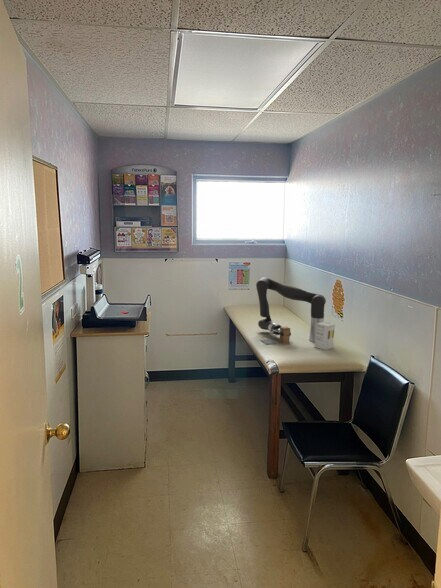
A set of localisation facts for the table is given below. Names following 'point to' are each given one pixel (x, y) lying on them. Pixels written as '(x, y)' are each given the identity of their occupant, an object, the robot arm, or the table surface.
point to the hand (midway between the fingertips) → (286, 334)
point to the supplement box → (324, 335)
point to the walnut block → (285, 335)
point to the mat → (269, 341)
